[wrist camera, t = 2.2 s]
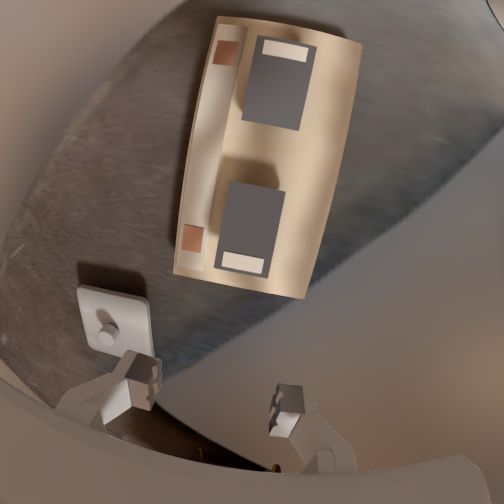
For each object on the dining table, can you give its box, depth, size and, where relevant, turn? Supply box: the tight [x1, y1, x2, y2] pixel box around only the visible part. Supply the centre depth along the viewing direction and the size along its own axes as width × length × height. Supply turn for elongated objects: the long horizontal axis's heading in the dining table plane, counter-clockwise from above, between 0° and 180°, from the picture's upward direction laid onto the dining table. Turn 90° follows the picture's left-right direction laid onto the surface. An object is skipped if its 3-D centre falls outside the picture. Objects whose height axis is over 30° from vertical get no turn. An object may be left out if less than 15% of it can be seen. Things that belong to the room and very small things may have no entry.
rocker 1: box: [241, 35, 317, 131], centre depth 19 cm, size 4×7×2 cm, turn 169°
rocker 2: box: [214, 181, 286, 279], centre depth 23 cm, size 4×7×2 cm, turn 169°
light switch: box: [77, 284, 154, 357], centre depth 31 cm, size 10×10×5 cm
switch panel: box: [173, 16, 363, 299], centre depth 24 cm, size 13×25×4 cm, turn 169°
